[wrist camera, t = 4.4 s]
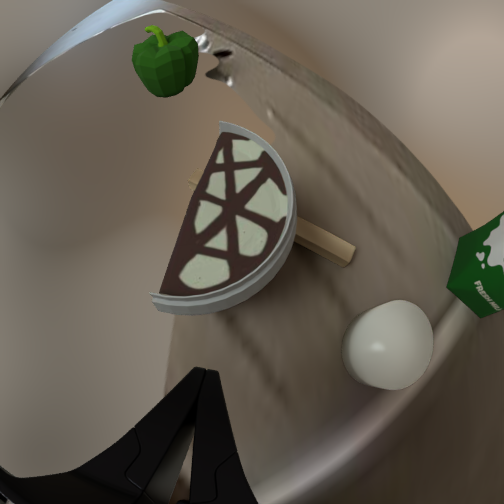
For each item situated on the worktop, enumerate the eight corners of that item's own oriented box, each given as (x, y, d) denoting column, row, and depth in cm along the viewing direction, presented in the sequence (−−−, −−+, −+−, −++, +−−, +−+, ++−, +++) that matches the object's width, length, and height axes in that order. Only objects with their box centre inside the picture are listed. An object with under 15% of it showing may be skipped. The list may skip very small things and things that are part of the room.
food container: (260, 344, 21) (276, 341, 12) (186, 324, 21) (145, 304, 12) (291, 209, 25) (316, 135, 16) (227, 194, 25) (222, 115, 16)
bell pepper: (210, 90, 31) (206, 26, 22) (152, 113, 29) (133, 48, 20) (187, 66, 33) (181, 11, 24) (136, 85, 32) (121, 31, 22)
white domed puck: (389, 395, 20) (414, 400, 16) (327, 368, 21) (344, 371, 17) (417, 326, 22) (442, 321, 18) (360, 295, 23) (381, 284, 19)
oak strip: (343, 267, 23) (349, 262, 22) (190, 188, 25) (187, 180, 24) (349, 252, 24) (355, 247, 22) (199, 177, 26) (197, 168, 25)
